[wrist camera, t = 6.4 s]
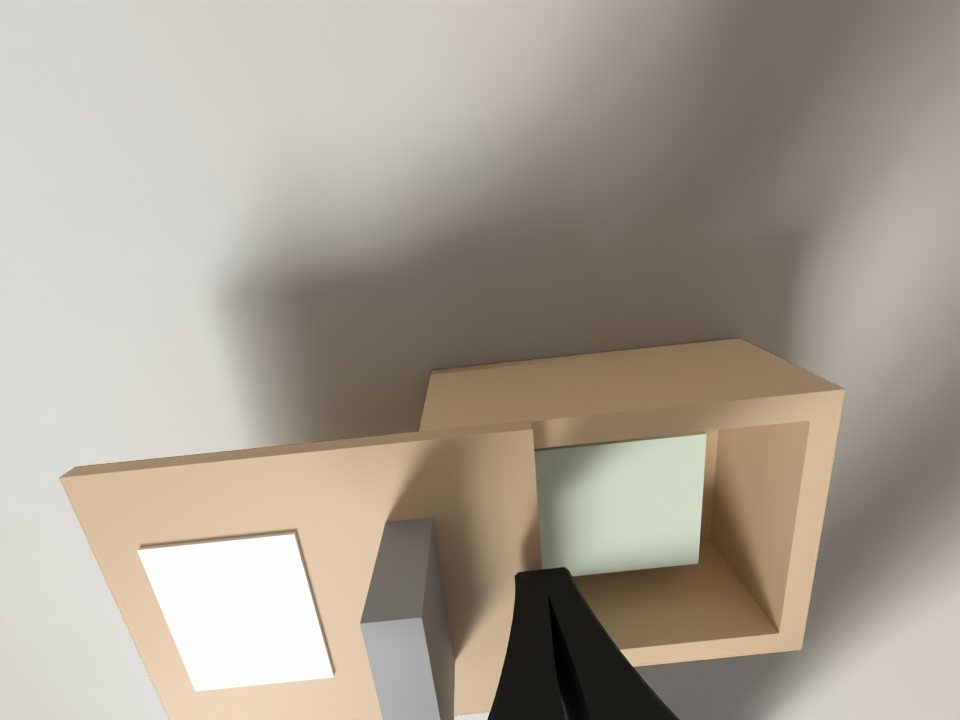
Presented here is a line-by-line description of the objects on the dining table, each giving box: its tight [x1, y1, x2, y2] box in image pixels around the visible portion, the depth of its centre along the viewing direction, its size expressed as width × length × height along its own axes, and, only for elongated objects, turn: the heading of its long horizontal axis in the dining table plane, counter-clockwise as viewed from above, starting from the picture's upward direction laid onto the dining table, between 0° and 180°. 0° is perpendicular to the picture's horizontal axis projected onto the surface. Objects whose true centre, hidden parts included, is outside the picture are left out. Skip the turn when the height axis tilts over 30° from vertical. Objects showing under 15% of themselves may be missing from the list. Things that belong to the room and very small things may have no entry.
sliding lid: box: [59, 420, 542, 720], centre depth 11 cm, size 11×9×4 cm
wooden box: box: [419, 338, 845, 667], centre depth 16 cm, size 11×9×5 cm
